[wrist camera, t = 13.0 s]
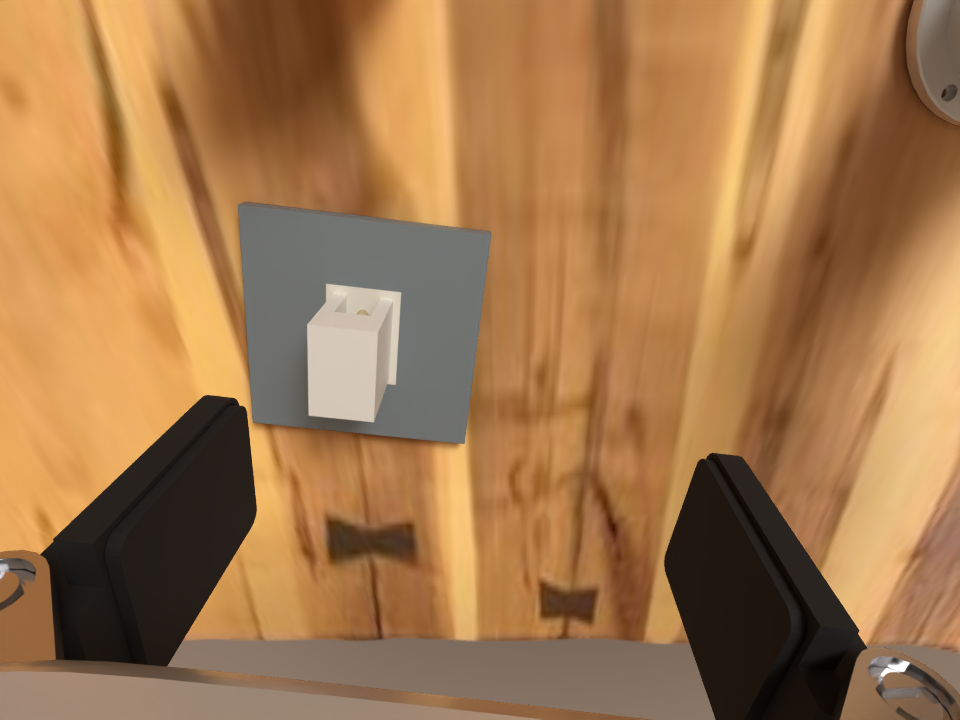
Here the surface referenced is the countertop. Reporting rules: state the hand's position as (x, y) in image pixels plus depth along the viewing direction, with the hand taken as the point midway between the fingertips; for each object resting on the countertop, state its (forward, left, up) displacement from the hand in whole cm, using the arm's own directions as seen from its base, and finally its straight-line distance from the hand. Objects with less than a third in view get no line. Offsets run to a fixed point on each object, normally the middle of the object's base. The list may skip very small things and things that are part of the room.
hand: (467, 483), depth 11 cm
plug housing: (+7, +8, -25) cm, 27 cm away
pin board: (+7, +8, -26) cm, 28 cm away
